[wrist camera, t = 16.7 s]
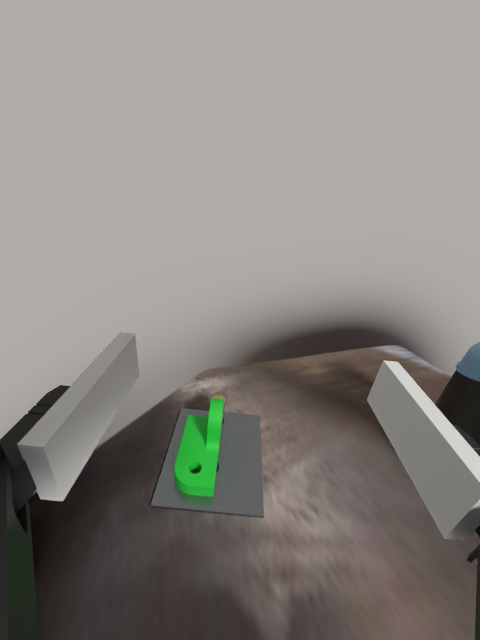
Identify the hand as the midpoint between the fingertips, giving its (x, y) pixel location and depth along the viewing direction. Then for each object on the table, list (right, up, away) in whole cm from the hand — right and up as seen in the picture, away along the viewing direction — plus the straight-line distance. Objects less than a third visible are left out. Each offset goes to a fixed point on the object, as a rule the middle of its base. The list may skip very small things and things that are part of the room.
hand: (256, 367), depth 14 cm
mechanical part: (-7, -19, +27) cm, 34 cm away
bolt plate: (-5, -19, +28) cm, 34 cm away
